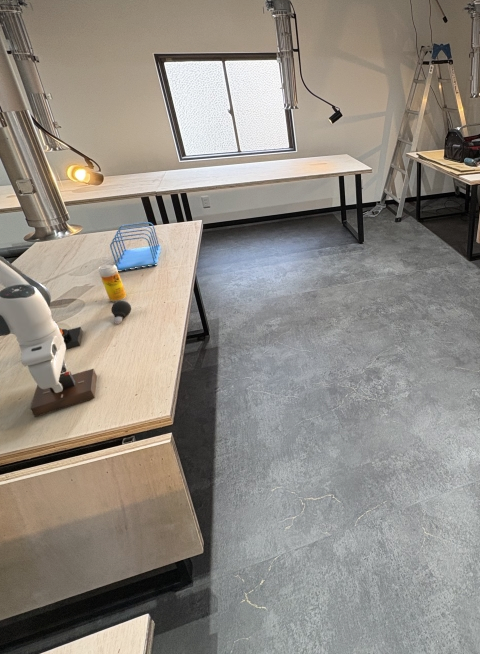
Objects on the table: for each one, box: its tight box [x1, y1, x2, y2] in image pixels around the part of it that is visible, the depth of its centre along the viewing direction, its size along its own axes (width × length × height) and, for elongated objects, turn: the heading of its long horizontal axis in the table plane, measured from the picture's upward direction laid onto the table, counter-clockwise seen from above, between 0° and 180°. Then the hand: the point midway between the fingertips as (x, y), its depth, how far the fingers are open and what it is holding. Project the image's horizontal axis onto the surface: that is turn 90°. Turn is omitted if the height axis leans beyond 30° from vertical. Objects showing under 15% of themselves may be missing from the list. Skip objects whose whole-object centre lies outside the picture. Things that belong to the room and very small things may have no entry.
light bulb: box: [110, 300, 132, 325], centre depth 155 cm, size 6×6×10 cm
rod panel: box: [30, 368, 98, 418], centre depth 119 cm, size 14×11×3 cm
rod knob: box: [50, 371, 75, 392], centre depth 117 cm, size 6×2×4 cm, turn 119°
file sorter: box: [109, 221, 162, 273], centre depth 202 cm, size 25×17×15 cm
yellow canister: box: [98, 263, 127, 303], centre depth 167 cm, size 6×6×15 cm
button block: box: [61, 326, 84, 351], centre depth 142 cm, size 12×10×4 cm
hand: (61, 380), depth 117 cm, fingers open, 8 cm apart
